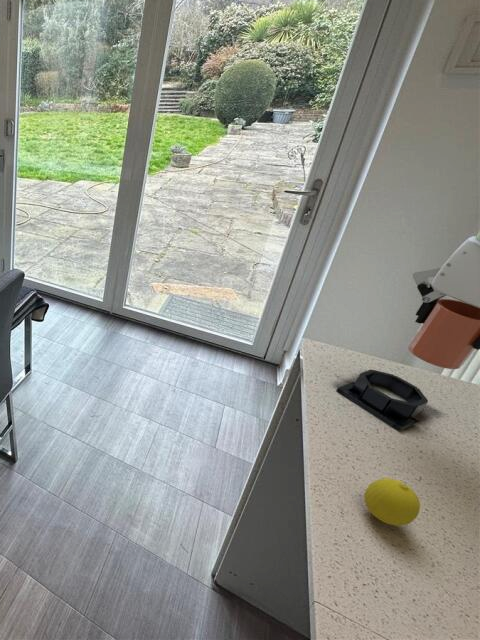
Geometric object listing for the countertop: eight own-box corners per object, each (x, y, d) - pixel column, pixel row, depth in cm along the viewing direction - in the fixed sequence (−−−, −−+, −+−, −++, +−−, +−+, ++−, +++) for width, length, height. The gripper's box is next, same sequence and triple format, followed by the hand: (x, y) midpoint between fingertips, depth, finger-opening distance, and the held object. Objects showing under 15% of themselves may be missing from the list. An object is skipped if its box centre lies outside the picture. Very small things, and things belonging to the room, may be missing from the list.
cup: (420, 340, 76) (450, 296, 72) (469, 364, 71) (505, 317, 66) (399, 348, 74) (428, 302, 70) (447, 373, 69) (483, 325, 64)
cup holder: (367, 378, 91) (377, 363, 89) (431, 415, 82) (443, 399, 80) (336, 390, 87) (345, 375, 85) (399, 431, 78) (411, 414, 76)
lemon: (368, 531, 62) (395, 498, 58) (347, 496, 66) (371, 464, 63) (412, 541, 60) (441, 508, 57) (387, 504, 65) (413, 472, 62)
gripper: (620, 262, 56) (535, 361, 64) (452, 217, 71) (400, 303, 79) (596, 270, 54) (511, 372, 62) (427, 222, 68) (376, 310, 76)
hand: (449, 333), depth 70 cm, fingers closed on cup, 6 cm apart
